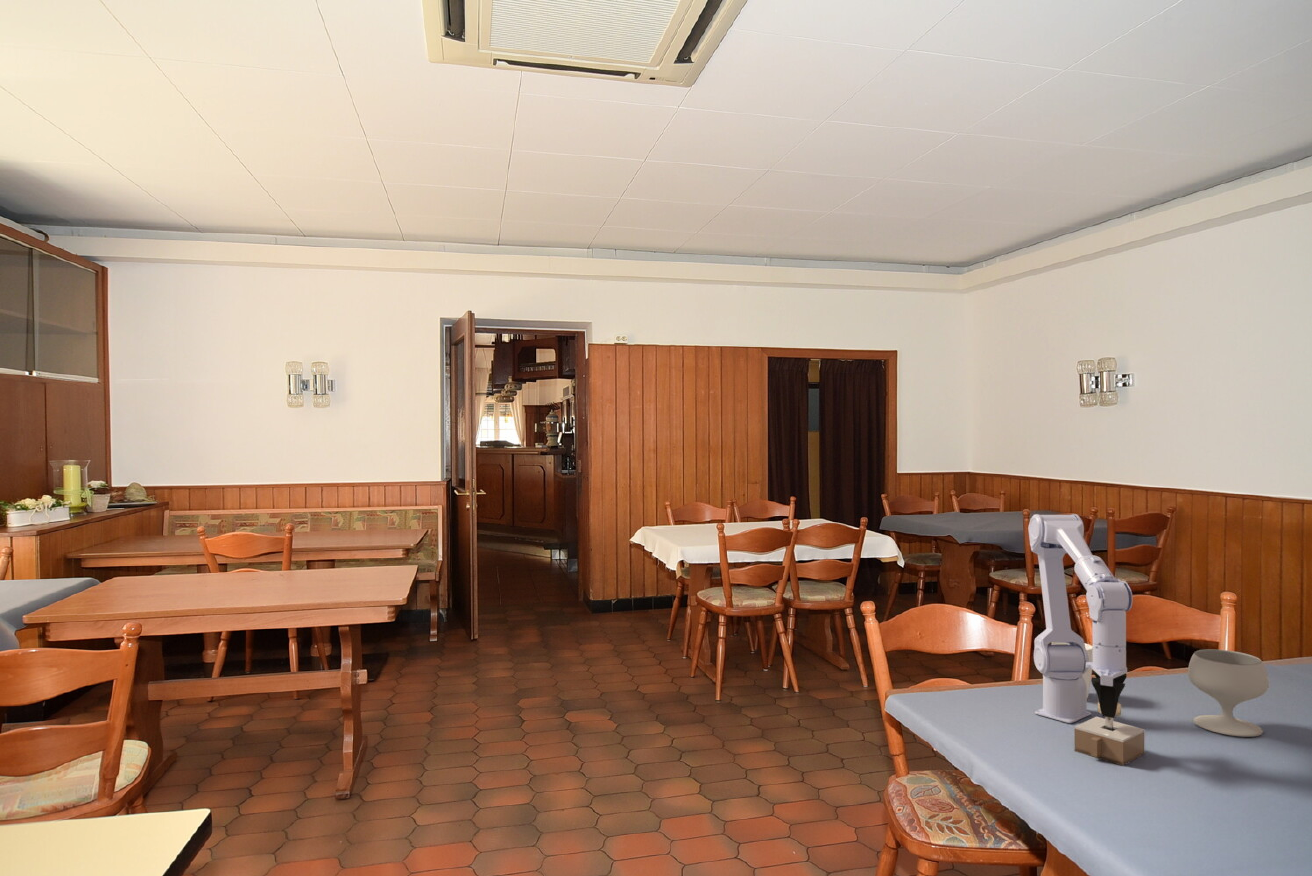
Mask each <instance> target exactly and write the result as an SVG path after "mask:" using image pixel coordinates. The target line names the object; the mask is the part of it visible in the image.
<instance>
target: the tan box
mask: <svg viewBox="0 0 1312 876" xmlns="http://www.w3.org/2000/svg"><path fill="white" fill-rule="evenodd" d="M1074 751H1075V752H1078V753H1080V754H1083V755H1087V756H1090V757H1094V758H1096V759H1099V760H1103V761H1106V762H1108V763H1113V764H1117V765H1119V766H1125V765H1127V764H1129V763H1131V762H1133V761H1135V760H1136V759H1138V758H1140V757H1141V756H1140V755H1142V756H1144V755H1145V729H1144V728H1140V727H1137V726H1133V725H1129V724H1125V723H1122V722H1119V721H1115V720H1113V731H1111V730H1107V729H1105V717H1104V718H1103V717H1099V716H1094V717H1092V718H1091V719H1088V720H1086V721H1083V722H1081V723H1080V724H1077V725H1075V726H1074ZM1139 756H1140V757H1139ZM1137 757H1138V758H1137ZM1128 762H1129V763H1128ZM1126 763H1127V764H1126Z"/></svg>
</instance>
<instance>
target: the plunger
mask: <svg viewBox="0 0 1312 876" xmlns="http://www.w3.org/2000/svg"><path fill="white" fill-rule="evenodd" d="M1097 713H1099V714H1101V715H1102V713H1101V709H1100V704H1099V700H1098V701H1097ZM1121 715H1122V704H1121V703H1120V702H1118V704H1117V710H1116V715H1115V717H1120V716H1121ZM1104 719H1105V729H1107V730H1111V731H1113V721H1114V718H1110V717H1104Z"/></svg>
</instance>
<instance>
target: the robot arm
mask: <svg viewBox="0 0 1312 876" xmlns="http://www.w3.org/2000/svg"><path fill="white" fill-rule="evenodd" d="M1027 527H1028V538H1029V540H1028V541H1029V545H1030V550H1031V552H1033V553H1034V554H1036V555H1037V558H1038V566H1039V567H1038V568H1039V576H1040V583H1041V584H1040V586H1041V593H1042V594H1041V595H1042V601H1043V602H1042V603H1043V611H1044V618H1045V628H1046V629H1044V630H1043V631H1042V632H1041V633H1040V634H1038V635H1037V636H1036V637H1035V638H1034V642H1033V643H1034V650H1033V662H1034V665H1035V667H1036V669H1037V671H1038V672H1040V673H1041V674H1042V708H1039V709H1038V710H1035V711H1034V714H1035V715H1037V716H1038V715H1039V716H1041V717H1045V718H1049V719H1052V720H1057V721H1058V722H1059V721H1060V722H1062V723H1063V722H1064V723H1067V724H1072V723H1075V722H1077V721H1079V720H1082V719H1083V718H1086V717H1088V716H1091V715H1092V712H1091V711H1088V708H1087V706H1088V705H1087V703H1088V702H1087V700H1088V698H1087V686H1086V682H1085V680H1084V678H1083V674H1084V673H1086V671H1087V669H1088V668H1091V669H1092V671H1094V672H1093V675H1094V677H1092V676H1091V681H1090V683H1091V684H1092V687H1093V689H1094V690H1095V692H1096V695H1097V699H1098V701H1099V704H1100V709H1101V713H1102V714H1101V713H1100V714H1101V716H1102V717H1104V718H1105V717H1110V718H1113V719H1115V718H1116V716H1115V715H1116V710H1117V704H1118V703H1119V700H1120V696H1121V693H1122V692H1123V690H1124V688H1125V686H1126V683H1125V681H1126V679H1127V673H1128V667H1127V612H1129V611H1130V610H1131V608H1132V606H1133V599H1134V598H1133V592H1132V589H1131V587H1130V586H1129V584H1128V582H1127V581H1125V580H1120V578H1115V576H1114V574H1113V572H1112V571H1111V570H1110V569H1109V567H1108V566H1107V564H1106V563H1105V561H1104V560H1103V559H1102V558H1101V557H1100V556H1097V555H1093V553H1092V551H1091V550H1090V547H1089V546H1088V543H1087V541H1086V540H1085V538H1084V535H1085V532H1084V531H1085V526H1084V522H1083V519H1082V518H1081V516H1080V515H1078V514H1076V513H1072V514H1039V513H1036V514H1035V513H1034V514H1033V515H1032V517H1031V518H1030V519H1029V524H1028V526H1027ZM1065 554H1068V556H1069V557H1070V558H1071V559H1072V561H1073V562H1074V563H1075V564H1074V569H1073V570H1074V573H1075V575H1076V576H1077V577H1078V580H1079V581H1080V583H1081V584H1082V586H1083V588H1084V589H1085V590H1086V594H1085V597H1086V602H1087V606H1088V611H1089V613H1088V614H1089V618H1090V619H1092V624H1091V625H1092V645H1091V646H1092V647H1093V662H1089V656H1088V653H1087V651H1086V648H1085V644H1084V643H1085V640H1084V638H1083V637H1082V636H1080V635H1079V634H1078V633H1076V632H1075V631H1074V630H1072V627H1071V617H1070V611H1069V609H1070V608H1069V601H1068V593H1067V585H1066V579H1065V578H1066V577H1065V569H1064V561H1063V558H1064V557H1065ZM1052 642H1066V643H1069V644H1070V645H1052Z"/></svg>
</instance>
